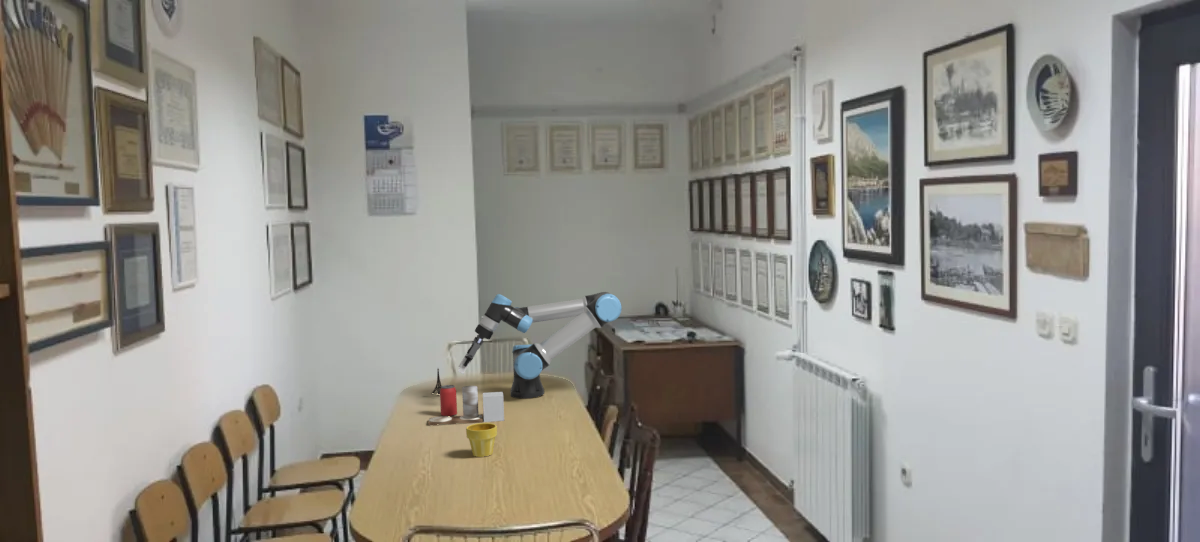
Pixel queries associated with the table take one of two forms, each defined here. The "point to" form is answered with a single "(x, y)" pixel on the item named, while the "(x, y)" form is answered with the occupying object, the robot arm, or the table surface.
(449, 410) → the beer can
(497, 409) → the white upright block
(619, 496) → the table surface
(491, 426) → the plant pot
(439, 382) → the eiffel tower figurine
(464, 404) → the board
